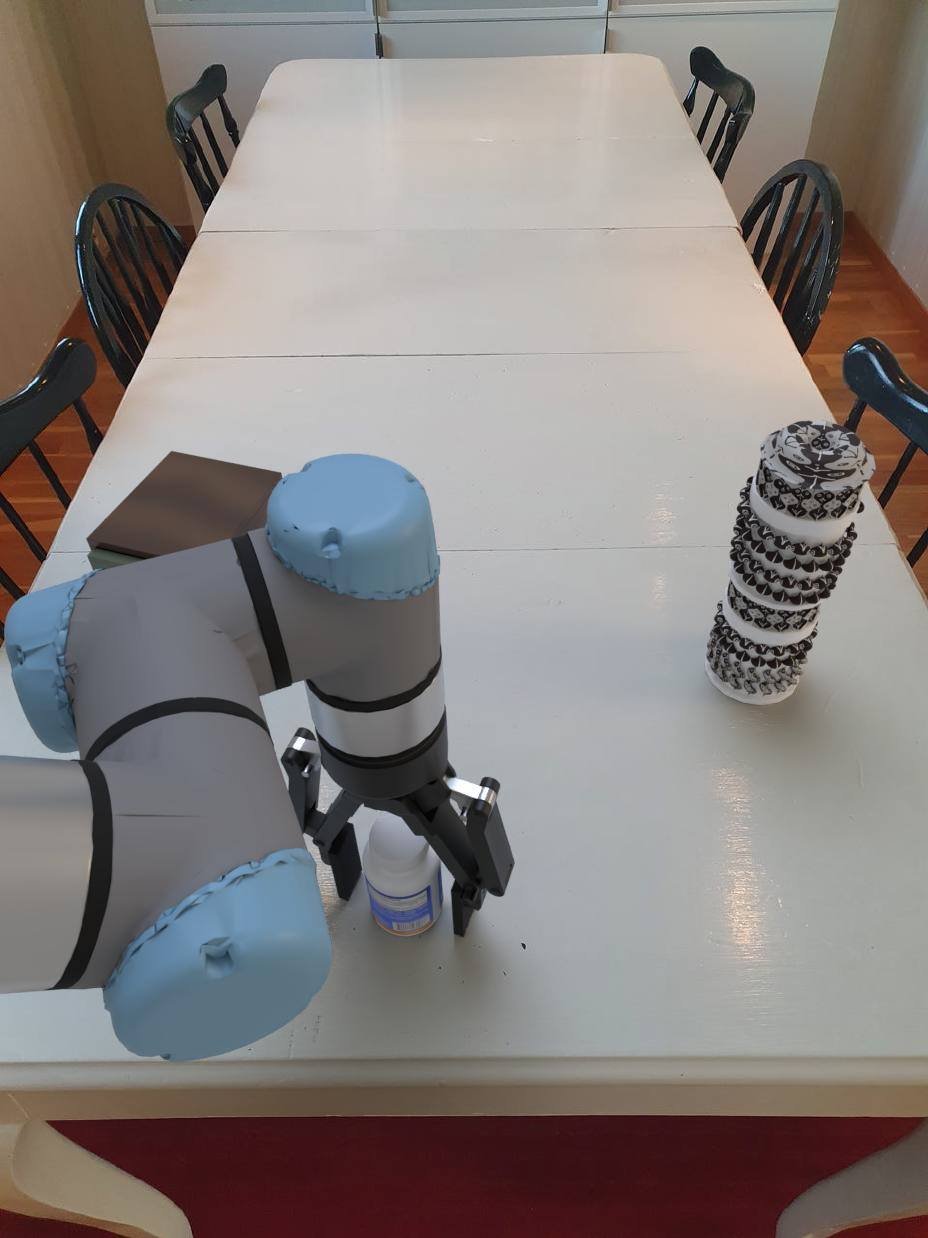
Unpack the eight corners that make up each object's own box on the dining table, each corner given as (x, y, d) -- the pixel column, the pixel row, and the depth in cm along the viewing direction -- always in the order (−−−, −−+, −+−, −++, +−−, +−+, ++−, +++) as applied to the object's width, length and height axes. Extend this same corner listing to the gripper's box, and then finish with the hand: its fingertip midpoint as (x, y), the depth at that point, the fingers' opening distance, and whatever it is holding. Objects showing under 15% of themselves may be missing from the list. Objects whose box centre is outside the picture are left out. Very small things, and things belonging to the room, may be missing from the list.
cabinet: (228, 640, 87) (206, 566, 80) (116, 612, 90) (85, 538, 83) (296, 546, 97) (281, 472, 90) (193, 523, 100) (171, 450, 93)
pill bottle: (395, 860, 70) (385, 788, 63) (456, 890, 68) (453, 819, 61) (356, 918, 67) (341, 849, 60) (420, 952, 65) (411, 884, 58)
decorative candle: (710, 622, 87) (766, 394, 69) (809, 648, 85) (894, 417, 67) (689, 690, 81) (744, 459, 64) (795, 720, 79) (883, 488, 61)
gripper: (578, 703, 51) (558, 897, 67) (245, 622, 56) (300, 821, 72) (543, 812, 46) (530, 994, 62) (181, 713, 51) (256, 904, 67)
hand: (406, 901), depth 67 cm, fingers open, 8 cm apart
